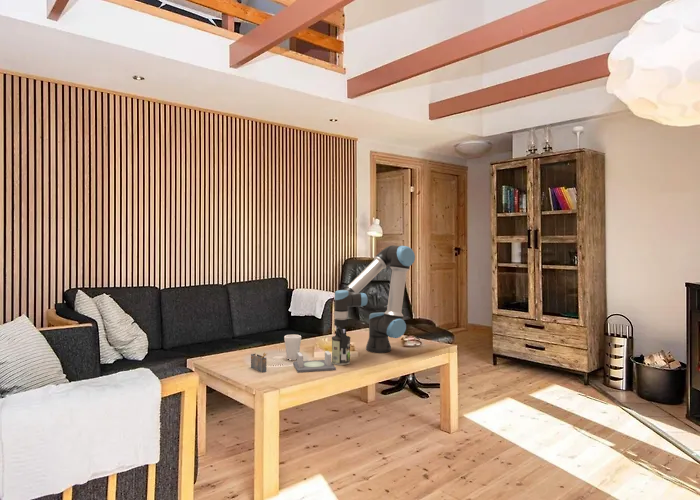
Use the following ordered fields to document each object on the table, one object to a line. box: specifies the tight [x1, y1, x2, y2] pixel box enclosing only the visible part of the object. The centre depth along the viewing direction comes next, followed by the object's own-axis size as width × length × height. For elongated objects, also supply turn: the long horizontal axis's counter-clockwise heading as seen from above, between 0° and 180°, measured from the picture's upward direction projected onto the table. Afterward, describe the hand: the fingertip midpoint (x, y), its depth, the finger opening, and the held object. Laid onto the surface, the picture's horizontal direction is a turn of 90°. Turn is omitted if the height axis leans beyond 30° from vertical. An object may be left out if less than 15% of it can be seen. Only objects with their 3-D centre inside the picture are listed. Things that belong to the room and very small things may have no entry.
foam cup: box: [283, 334, 302, 361], centre depth 271 cm, size 10×9×13 cm
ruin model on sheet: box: [250, 352, 267, 373], centre depth 250 cm, size 11×3×10 cm, turn 41°
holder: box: [292, 350, 337, 374], centre depth 256 cm, size 20×17×7 cm
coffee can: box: [331, 335, 351, 366], centre depth 265 cm, size 10×10×14 cm
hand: (340, 356), depth 265 cm, fingers open, 13 cm apart
